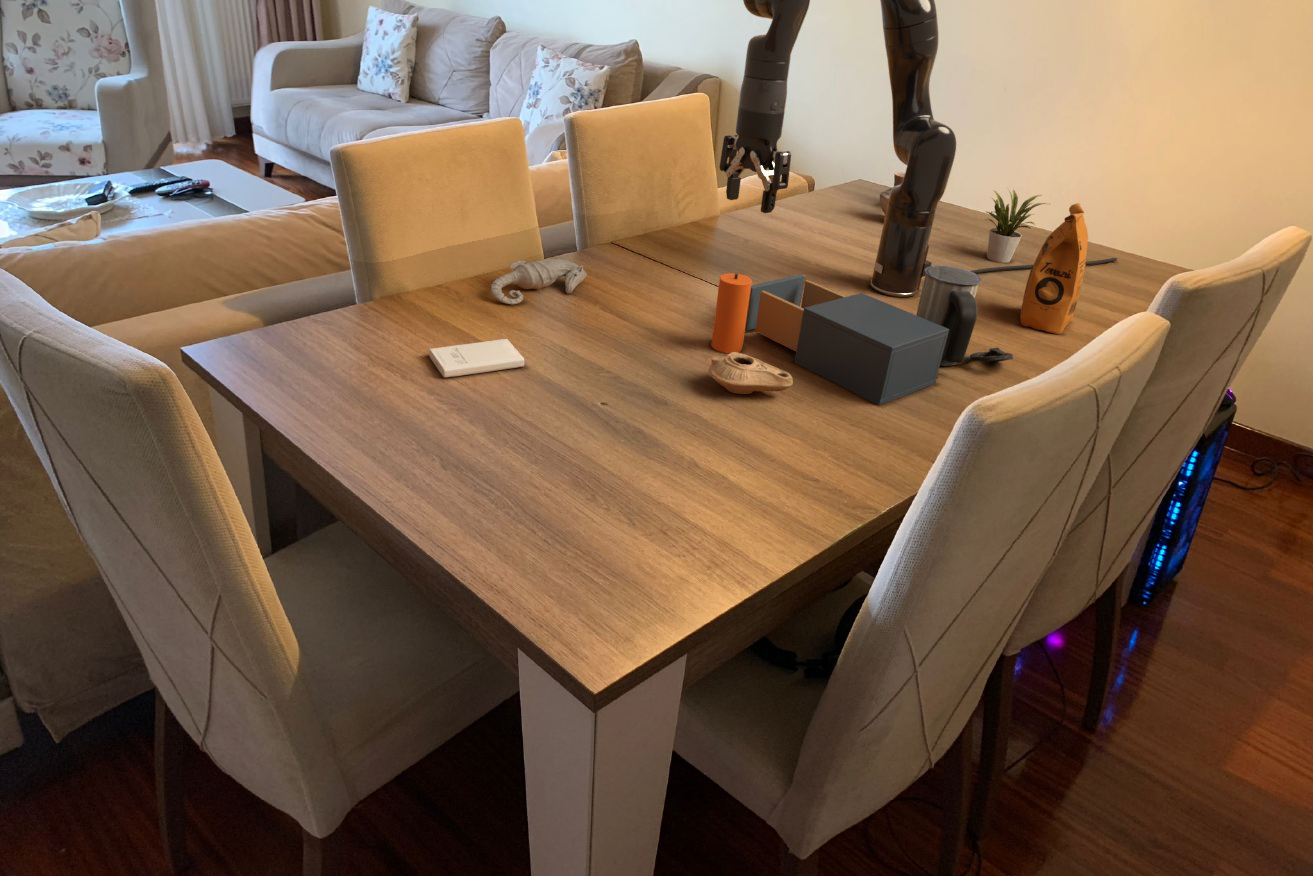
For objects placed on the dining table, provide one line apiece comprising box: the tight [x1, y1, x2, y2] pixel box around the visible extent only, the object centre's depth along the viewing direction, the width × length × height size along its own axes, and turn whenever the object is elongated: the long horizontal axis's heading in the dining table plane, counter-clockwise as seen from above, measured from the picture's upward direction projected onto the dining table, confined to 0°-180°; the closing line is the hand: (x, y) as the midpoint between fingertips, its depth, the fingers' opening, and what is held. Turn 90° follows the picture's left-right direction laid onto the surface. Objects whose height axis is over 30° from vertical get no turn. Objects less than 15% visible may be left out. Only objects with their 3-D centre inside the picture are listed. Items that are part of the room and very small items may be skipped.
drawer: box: [745, 273, 848, 352], centre depth 157 cm, size 21×13×8 cm, turn 40°
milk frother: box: [915, 265, 1014, 367], centre depth 153 cm, size 14×16×15 cm
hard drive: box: [428, 338, 525, 379], centre depth 140 cm, size 2×8×12 cm
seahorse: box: [489, 257, 588, 306], centre depth 167 cm, size 5×12×20 cm
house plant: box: [984, 187, 1050, 264], centre depth 207 cm, size 14×14×16 cm
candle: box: [710, 272, 753, 354], centre depth 150 cm, size 5×5×13 cm
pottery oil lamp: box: [708, 352, 794, 395], centre depth 138 cm, size 9×12×7 cm
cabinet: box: [794, 292, 949, 406], centre depth 147 cm, size 18×15×10 cm
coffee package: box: [1019, 203, 1089, 335], centre depth 172 cm, size 10×12×22 cm
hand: (748, 205), depth 156 cm, fingers open, 8 cm apart
